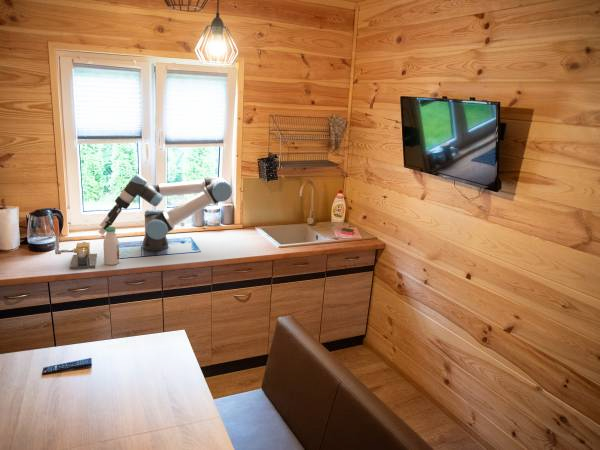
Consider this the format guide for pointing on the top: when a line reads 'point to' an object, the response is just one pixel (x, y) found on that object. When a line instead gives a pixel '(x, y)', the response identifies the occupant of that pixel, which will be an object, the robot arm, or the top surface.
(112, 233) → the milk bottle
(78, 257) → the valve stand
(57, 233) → the valve lever
